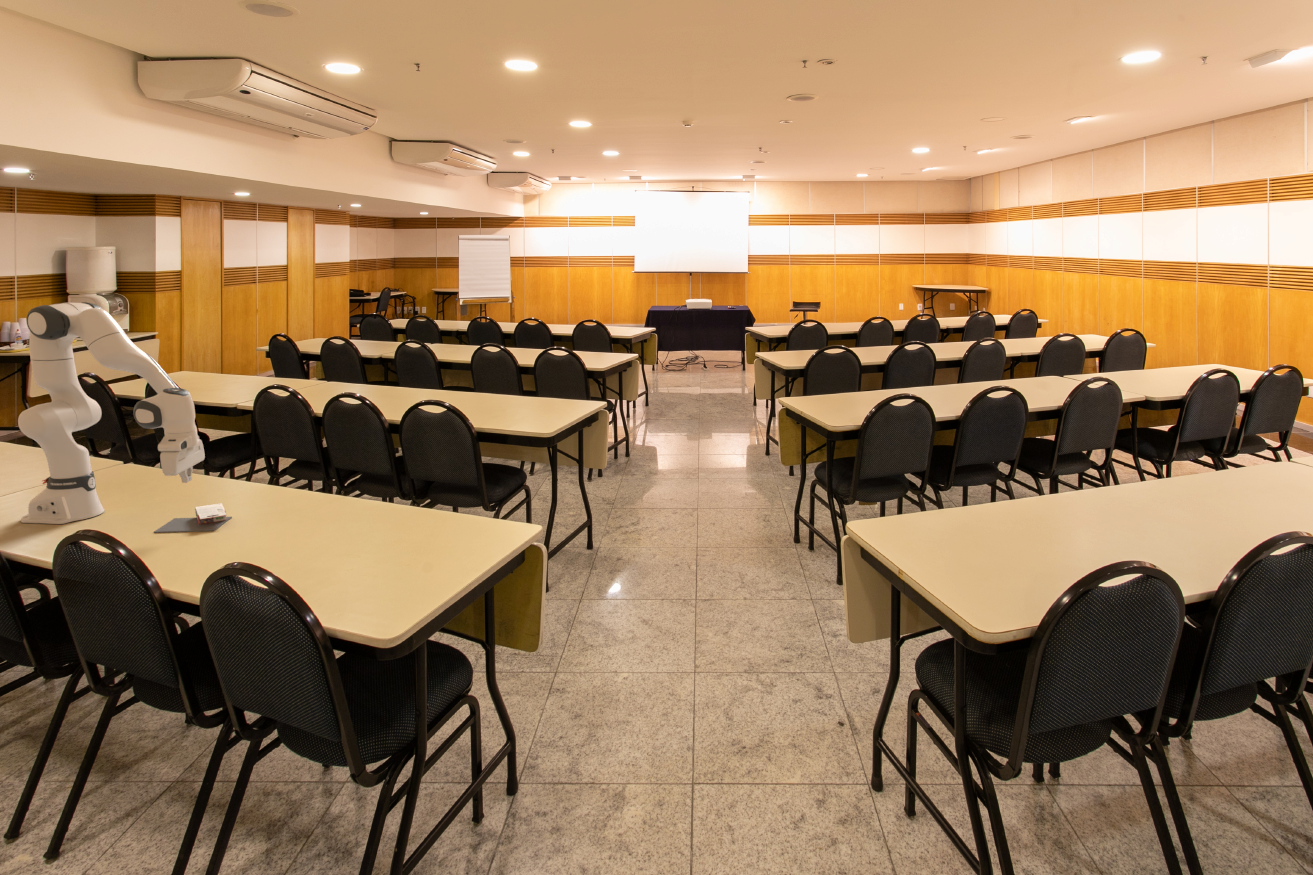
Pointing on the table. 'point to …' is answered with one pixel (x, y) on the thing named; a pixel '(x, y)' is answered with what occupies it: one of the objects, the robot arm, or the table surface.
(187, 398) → the robot arm
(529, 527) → the table surface
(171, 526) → the mat
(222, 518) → the ink box
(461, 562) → the table surface
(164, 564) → the table surface
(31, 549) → the table surface
